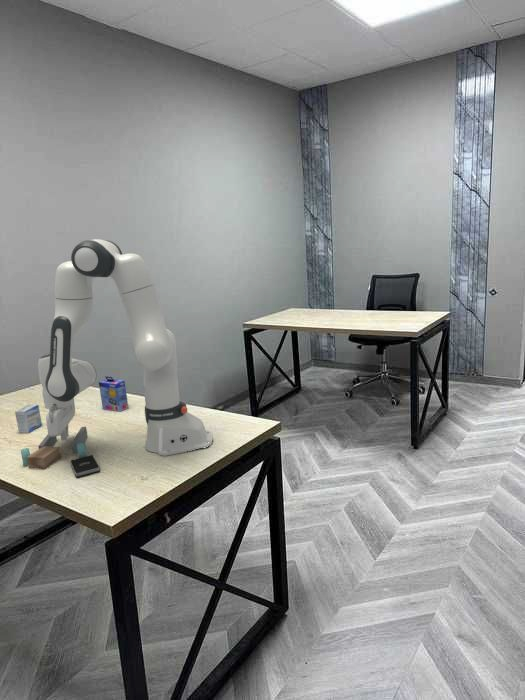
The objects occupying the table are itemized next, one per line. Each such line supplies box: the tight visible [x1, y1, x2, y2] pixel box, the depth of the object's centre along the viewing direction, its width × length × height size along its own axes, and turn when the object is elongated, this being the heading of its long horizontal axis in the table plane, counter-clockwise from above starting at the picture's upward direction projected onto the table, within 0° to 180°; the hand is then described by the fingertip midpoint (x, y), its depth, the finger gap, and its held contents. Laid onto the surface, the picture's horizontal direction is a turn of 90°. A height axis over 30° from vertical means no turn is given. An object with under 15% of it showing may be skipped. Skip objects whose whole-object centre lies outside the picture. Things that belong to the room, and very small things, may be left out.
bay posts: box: [20, 442, 87, 467], centre depth 153 cm, size 19×2×5 cm, turn 98°
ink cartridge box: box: [98, 375, 129, 413], centre depth 199 cm, size 10×6×14 cm, turn 64°
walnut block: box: [27, 446, 62, 470], centre depth 153 cm, size 6×8×4 cm
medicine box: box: [14, 404, 43, 434], centre depth 182 cm, size 8×4×9 cm, turn 168°
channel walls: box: [37, 426, 88, 455], centre depth 164 cm, size 12×14×4 cm
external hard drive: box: [69, 454, 101, 479], centre depth 148 cm, size 7×11×2 cm, turn 30°
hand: (65, 438), depth 164 cm, fingers closed
